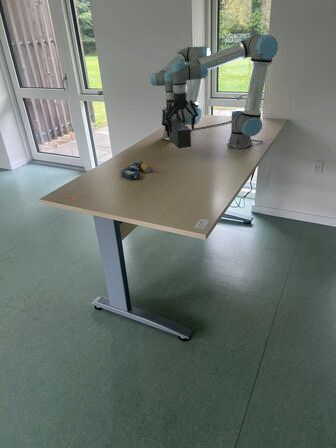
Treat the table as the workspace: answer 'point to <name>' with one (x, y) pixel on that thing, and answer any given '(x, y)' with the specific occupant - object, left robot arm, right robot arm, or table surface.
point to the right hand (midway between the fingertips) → (181, 130)
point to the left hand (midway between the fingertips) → (174, 134)
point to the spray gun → (135, 167)
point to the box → (180, 134)
